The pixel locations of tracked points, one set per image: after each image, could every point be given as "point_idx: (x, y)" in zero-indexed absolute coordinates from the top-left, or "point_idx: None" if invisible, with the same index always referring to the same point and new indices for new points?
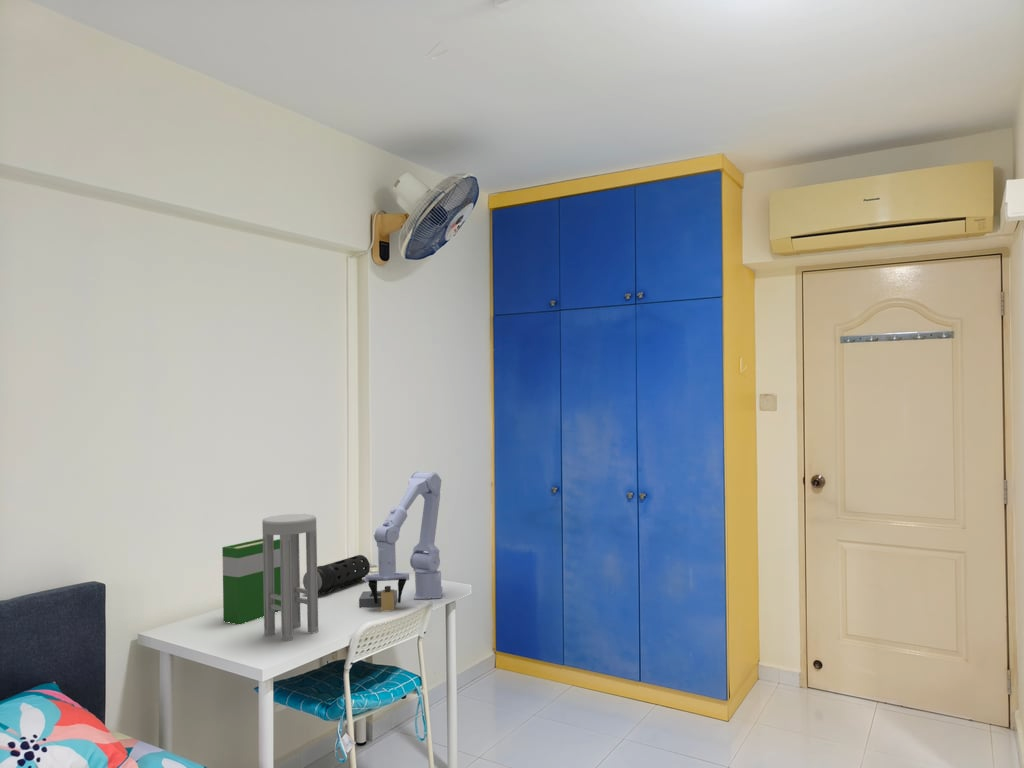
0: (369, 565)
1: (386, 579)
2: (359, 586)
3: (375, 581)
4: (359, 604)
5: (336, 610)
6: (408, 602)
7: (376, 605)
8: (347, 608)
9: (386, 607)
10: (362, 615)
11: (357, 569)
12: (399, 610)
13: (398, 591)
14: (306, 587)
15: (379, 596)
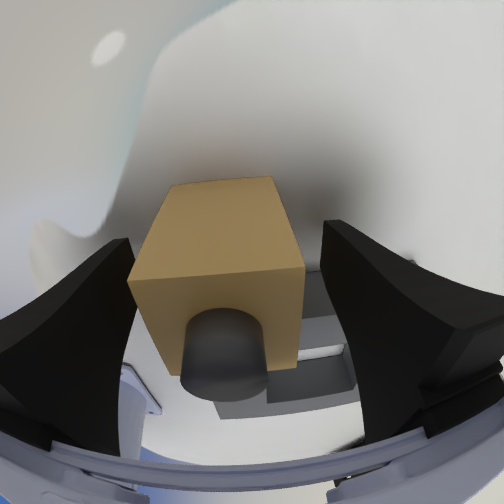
0: (334, 483)
1: (240, 484)
2: (358, 433)
3: (428, 418)
4: None
5: (497, 226)
6: (138, 337)
7: (320, 277)
8: (459, 254)
9: (228, 187)
10: (402, 79)
11: (369, 470)
12: (125, 182)
13: (69, 294)
14: (500, 375)
15: (310, 346)
